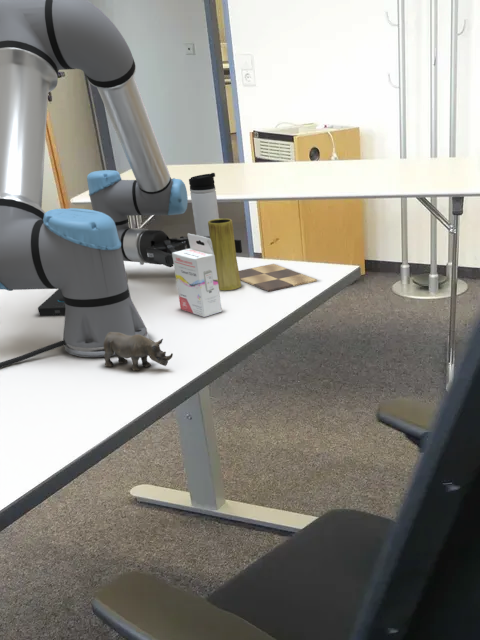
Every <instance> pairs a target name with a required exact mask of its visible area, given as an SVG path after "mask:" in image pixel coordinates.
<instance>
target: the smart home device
mask: <svg viewBox="0 0 480 640" xmlns="http://www.w3.org/2000/svg"><path fill="white" fill-rule="evenodd" d="M65 309H66V308H65V302H64V298H63V294H62V290H61V289H56V291H55V292H53V293H52V294H51V295H50V296H49V297H48V298H47V299H46V300H44V301H43V302H42V303H41V304H40V305H39V306H38V307H37V310H38V311H37V312H38V315H39V317H48V316H51V317H52V316H53V317H54V316H65Z"/></svg>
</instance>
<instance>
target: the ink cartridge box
mask: <svg viewBox="0 0 480 640" xmlns="http://www.w3.org/2000/svg"><path fill="white" fill-rule="evenodd" d="M186 237H188V240H189V244H190V248H189V249H185V250H181V251H177V252H173V253H172V257H173V263H174V264H173V268H174V275H175V281H176V288H177V294H178V300H179V306H180V310H181V311H185V312H188V313H190V314H194V315H196V316H200V317H203V318H206V317H209V316H212V315H216V314H218V313H222V311H223V309H222V301H221V293H220V290H219V285H218V277H217V270H216V263H215V255H214V252H213V247H212V242H211V239H210V238H206V237H202V236H198V235H196V234H194V233H189V232H187V236H186ZM199 240H200V241H201V242H203V243H204V245H200V244H197V243H196V241H199Z"/></svg>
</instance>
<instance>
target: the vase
mask: <svg viewBox="0 0 480 640" xmlns="http://www.w3.org/2000/svg"><path fill="white" fill-rule="evenodd" d="M208 227H209V234H210V239H211V242H212V247H213V252H214V255H215V263H216V270H217V277H218V285H219V291H233V290H234V291H235V290H237V289H240V288H241V287H242V281H241V280H240V276H239V271H240V270H239V263H238V258H237V253H236V250H235V241H234V240H235V233H234V224H233V220H232V219H231V218H219V219H213V220H210V221H208Z"/></svg>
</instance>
